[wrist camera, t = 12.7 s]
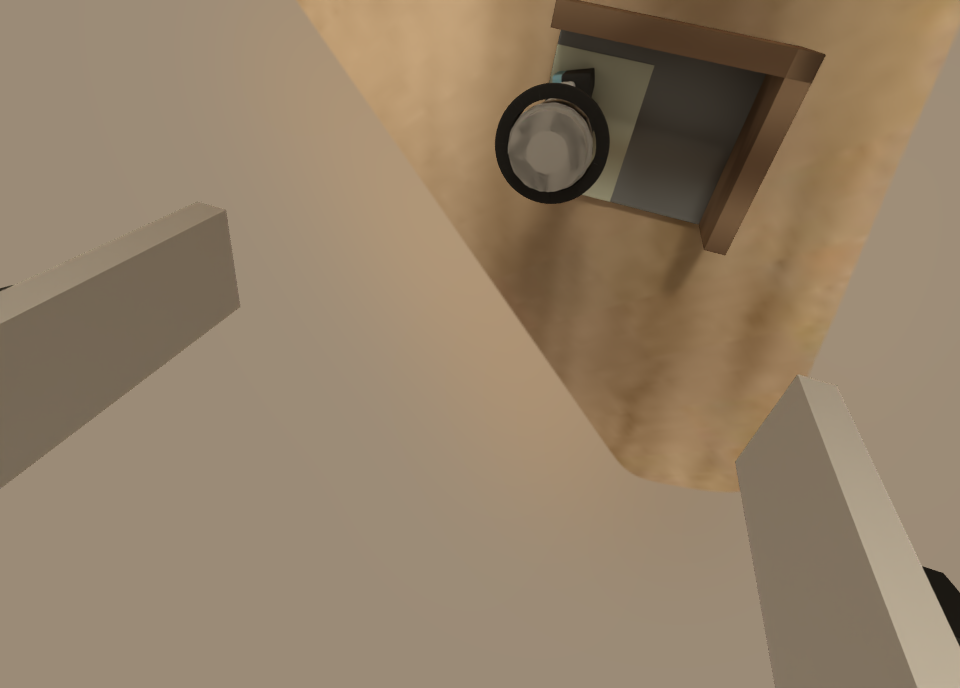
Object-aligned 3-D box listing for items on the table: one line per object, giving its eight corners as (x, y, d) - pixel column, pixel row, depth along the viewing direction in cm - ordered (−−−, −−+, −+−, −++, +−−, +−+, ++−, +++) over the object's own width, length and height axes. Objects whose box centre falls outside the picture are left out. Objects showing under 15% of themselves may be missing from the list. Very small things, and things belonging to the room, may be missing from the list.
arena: (568, -2, 28) (556, -2, 25) (802, 46, 27) (825, 54, 23) (528, 178, 34) (514, 200, 31) (717, 227, 33) (725, 255, 29)
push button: (617, 177, 32) (605, 236, 24) (534, 180, 34) (497, 237, 26) (621, 58, 29) (609, 81, 21) (528, 67, 30) (484, 92, 22)
